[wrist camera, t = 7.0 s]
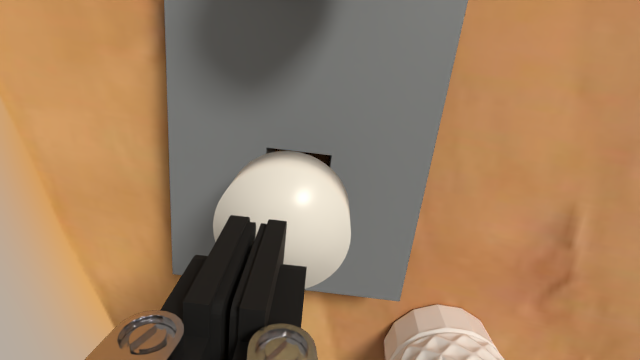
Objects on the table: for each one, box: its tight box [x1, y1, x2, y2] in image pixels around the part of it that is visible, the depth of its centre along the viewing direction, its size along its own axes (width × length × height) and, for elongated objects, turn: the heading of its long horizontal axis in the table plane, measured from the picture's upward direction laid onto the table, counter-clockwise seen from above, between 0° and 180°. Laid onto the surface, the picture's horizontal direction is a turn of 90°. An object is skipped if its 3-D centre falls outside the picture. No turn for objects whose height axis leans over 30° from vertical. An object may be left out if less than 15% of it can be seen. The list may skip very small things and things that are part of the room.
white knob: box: [213, 151, 351, 289], centre depth 16 cm, size 5×5×5 cm
